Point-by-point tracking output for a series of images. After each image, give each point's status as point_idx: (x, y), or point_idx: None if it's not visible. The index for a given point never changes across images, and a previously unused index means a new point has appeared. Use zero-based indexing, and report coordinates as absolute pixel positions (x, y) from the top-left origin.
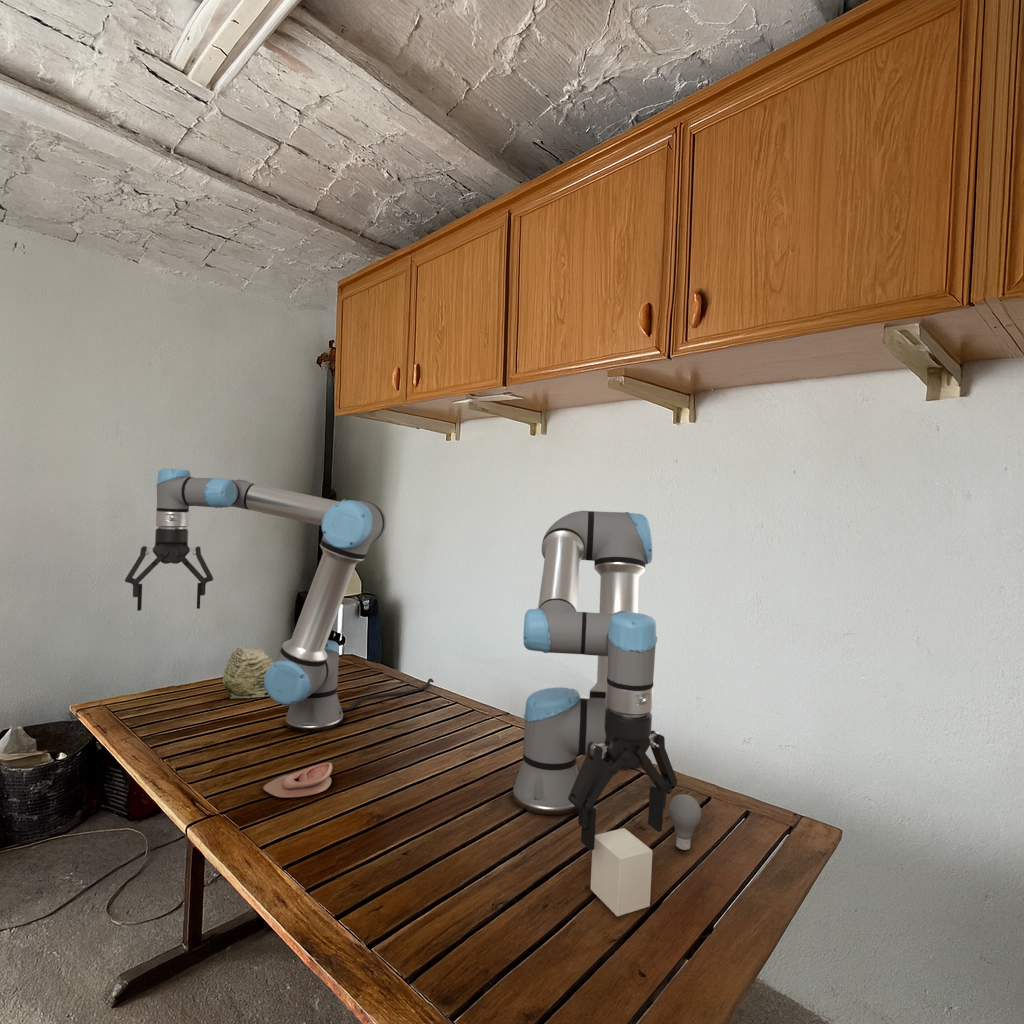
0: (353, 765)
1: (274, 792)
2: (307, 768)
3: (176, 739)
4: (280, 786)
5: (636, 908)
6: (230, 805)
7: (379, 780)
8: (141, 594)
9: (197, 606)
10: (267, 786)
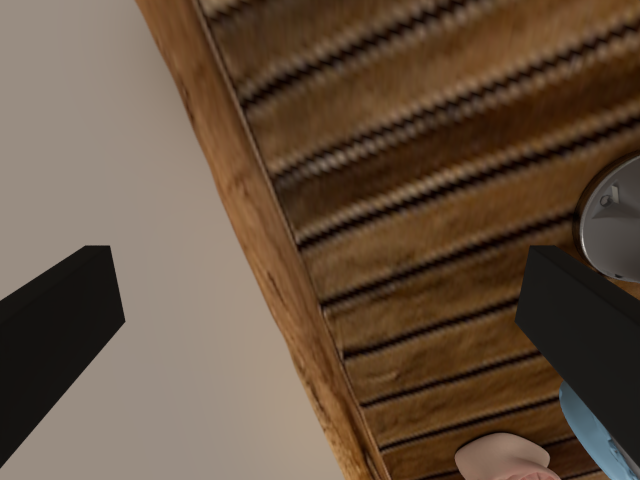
0: None
1: (465, 476)
2: (525, 471)
3: (343, 217)
4: (476, 477)
5: None
6: (407, 475)
7: None
8: (34, 376)
9: (527, 333)
10: (460, 463)
